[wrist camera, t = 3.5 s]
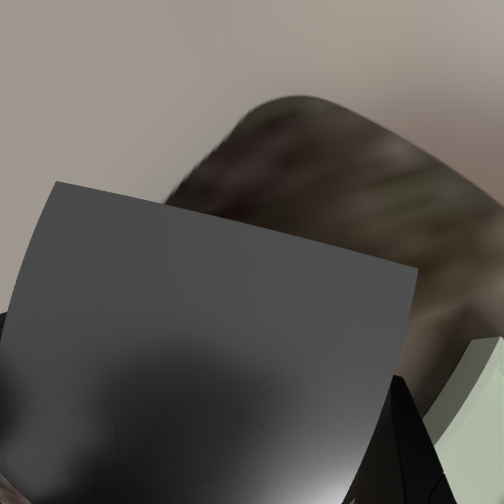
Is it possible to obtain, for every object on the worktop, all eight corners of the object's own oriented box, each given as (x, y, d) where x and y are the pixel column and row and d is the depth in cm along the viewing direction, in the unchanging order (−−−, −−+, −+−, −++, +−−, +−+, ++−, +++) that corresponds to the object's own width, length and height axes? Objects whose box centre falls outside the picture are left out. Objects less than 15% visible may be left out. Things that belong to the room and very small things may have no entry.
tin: (297, 444, 14) (263, 621, 2) (182, 403, 15) (-13, 458, 4) (337, 327, 15) (418, 268, 4) (219, 293, 16) (56, 180, 5)
